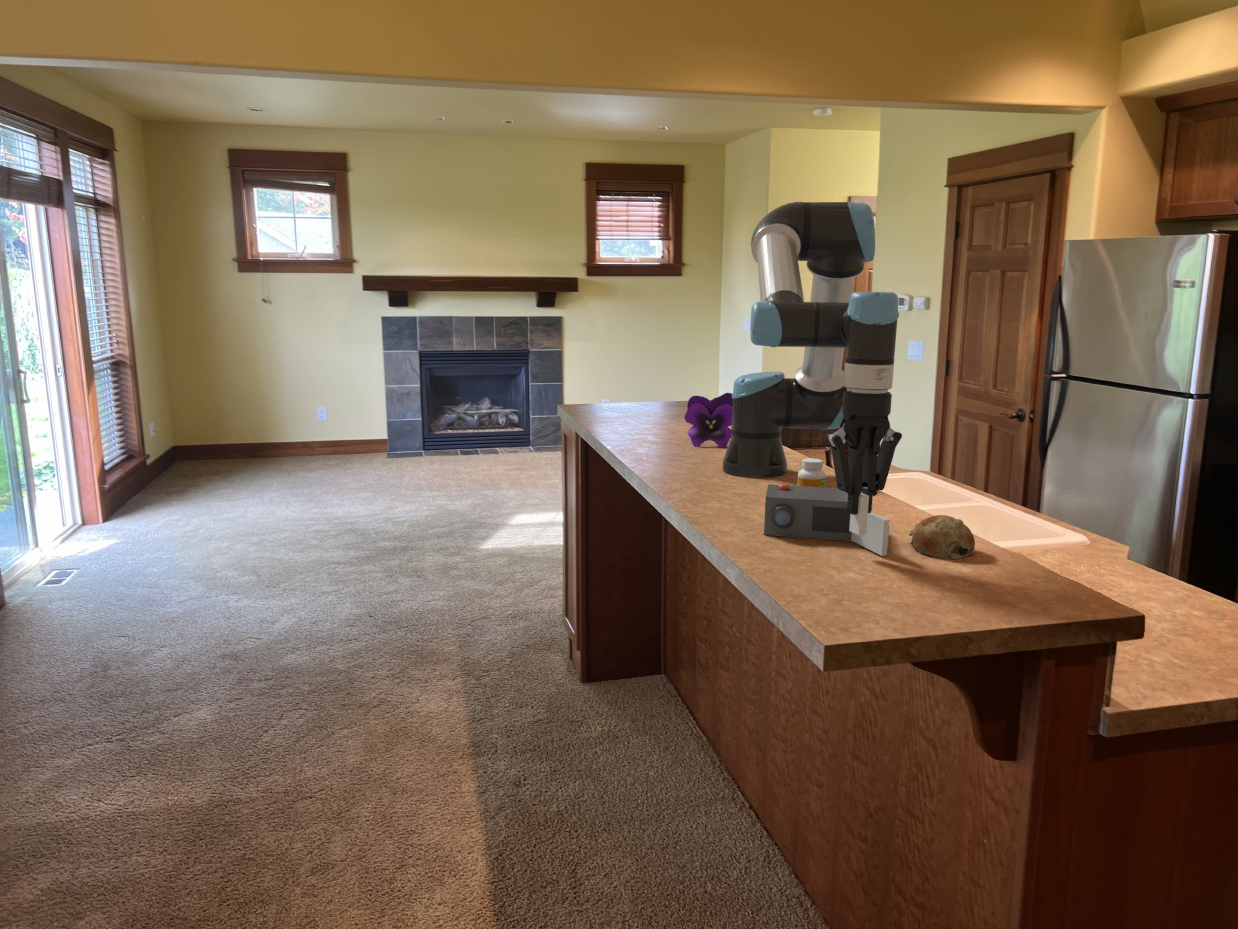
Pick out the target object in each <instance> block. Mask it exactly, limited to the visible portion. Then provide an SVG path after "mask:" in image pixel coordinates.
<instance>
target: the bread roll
mask: <svg viewBox="0 0 1238 929" xmlns="http://www.w3.org/2000/svg"><path fill="white" fill-rule="evenodd" d="M908 537H912V538H911V541H910V545H911V546H912V549H913V550H914V549H915V551H916V550H917V551H918V553H919V554H921V553H922V554H921V555H926V556H929V557H932V556H933V557H932V558H937V557H940V558H939V559H950V558H952V560H957V559H958V560H959V559H962V558H966V557H968V556H971V555H972V554H973V553H974V551H975V548H976V547H975V546H976V541H975V540H976V539H975V537H974V534H973V533H972V530H971V529H970V528H969V527H968V526H967V525H966V524H965V523H964V521H963V520H962V519H960V518H955V517H953V516H949V515H944V514H937V515H932V516H929V517H926V518H924V519H922V520H921V521H920V522H918V523H916V524H915V527H914V528H913V529H911V530H910V531H909V533H908ZM917 551H916V552H917ZM961 557H962V558H961Z"/></svg>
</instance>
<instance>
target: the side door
mask: <svg viewBox="0 0 1238 929" xmlns="http://www.w3.org/2000/svg"><path fill="white" fill-rule="evenodd" d="M889 535H890V519H887V518H886V517H883V516H881V515H878V514H877V513H874V512H872V511H871V513H868V518H867V532H866V535H857V534H855V533H853V532H851V541H850V542H852V543H856V544H858V545H859V546H862V547H864V548H865V549H868V550H869V551H872V552H873V553H875V554H878V555H879V556H881V557H882V556H883V557H884V556H887V554H888V546H889Z"/></svg>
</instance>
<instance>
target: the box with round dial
mask: <svg viewBox="0 0 1238 929" xmlns="http://www.w3.org/2000/svg"><path fill="white" fill-rule="evenodd" d="M847 501H848V494H847V492H844V491H842V490H839V489H838V488H837V487H835V488H834V487H825V488H822V487H805V486H797V485H790V484H789V483H779V484H768V485H767V489H766V494H765V505H764V523H763V524H764V527H763V535H764V536H772V537H773V536H775V537H790V538H791V537H792V538H801V539H803V538H804V539H819V540H831V541H832V540H833V541H849V542H851V531H849V527H850V513H848V512H847Z"/></svg>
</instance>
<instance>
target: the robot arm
mask: <svg viewBox="0 0 1238 929" xmlns="http://www.w3.org/2000/svg"><path fill="white" fill-rule="evenodd" d="M750 241H751V243H750V247H751V248H750V249H751V254H752V257H753V259H754V261H755V262H756V263H757V270H758V271H757V272H758V285H759V286H758V287H759V298H760V299H759V300H760V301H756V302H754V303H752V305H751V310H750V311H751V312H750V322H749V323H750V327H749V328H750V335H749V336H750V341H751V343H752V344H753V345H755V346H760V347H761V346H762V347H763V346H764V347H770V348H777V347H783V348H786V347H787V348H788V347H790V348H791V347H792V348H793V347H794V348H797V347H798V348H802V347H803V348H804V351H803V352H804V353H803V359H802V360H803V362H802V365H800V367H798V368H797V369H796V370H795V374H794V377H793V378H790V377H789V378H787V377H785V376H786V375H785V373H784V371H783V372H782V371H762V372H761V371H760V372H754V373H753V372H752V373H748V374H742V375H740V376H738V377H737V378H736V379H734V382H733V388H732V390H733V391H732V394H733V395H732V398H733V410H732V425H731V429H732V431H731V438H730V440H729V442H728V444H727V447H726V448H727V449H726V451H725V454H724V456H723V459H722V471H723V472H725V473H727V474H729V475H730V474H731V475H735V476H738V477H739V476H741V477H750V478H770V477H771V478H772V477H779V476H783V475H785V474H787V472H788V461H787V458H786V454H785V451H784V447H783V442H782V429H808V430H809V429H814V430H816V429H818V430H821V431H826V430H836V431H835V432H833V433H827V434H826V436H825V439H826V440H827V442H828V444H829V446H830V448H831V454H832V455H831V456H832V462H833V468H834V475H835V480H836V481H835V482H836V488H838V489H839V490H842V491H844V492H847V494H848V501H847V512H848V513H850V527H849V531H851V532H853V533H855V534H857V535H866V532H867V518H868V513H871V512H872V510H873V497H875V496H877V495H878V491H883V490H884V489H885V487H886V484H887V480H888V477H889V472H890V469H891V467H892V466H891V465H892V462H893V459H894V456H895V451H896V448H897V446H898V445H899V442H900V441H901V439H902V438H903V434H902V433H901V432H899V431H896V430H894V429H893V428H892V427H891V422H890V420H889V415H890V414H891V410H892V397H893V394H892V393H891V392H890V391H889V390H891V389H892V388H893V384H894V371H895V370H894V368H895V354H896V353H895V352H896V341H897V331H898V330H897V329H898V321H899V320H898V319H899V317H900V311H899V297H898V294H896V293H895V292H893V291H888V292H887V291H854V284H855V278H856V277H858V276H860V275H861V274H862V273H863V271H864V269H865V263H867V264H868V263H870V262H873V261H874V259H875V255H876V228H875V219H874V213H873V210H872V208H871V206H870V205H869V204H867V203H864V202H853V201H849V200H848V201H833V202H832V201H819V202H818V201H813V202H811V201H805V202H804V201H794V202H788V203H785V204H783V205H780V206H778V207H776V208H774V209H773V210H771V211H770V212H769V213H767V214H766V215H765V216H763V217H762V219H761V220H760V221H759V222H758V224H757V225H756V227H755V229H754V231H753V232H752V235H751V240H750ZM799 262H806V268H807V270H808V271H809V272H810V273H811V274H812V280H811V281H812V282H811V290H810V299H809V301H805V298H804V293H803V292H804V291H803V290H804V289H803V286H802V285H803V284H802V279H801V273H800V272H801V271H800V266H799ZM844 353H845V361H844V370H843V369H842V366H843V360H844ZM846 442H847V448H846V445H845V443H846ZM847 452H848V454H847Z"/></svg>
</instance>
